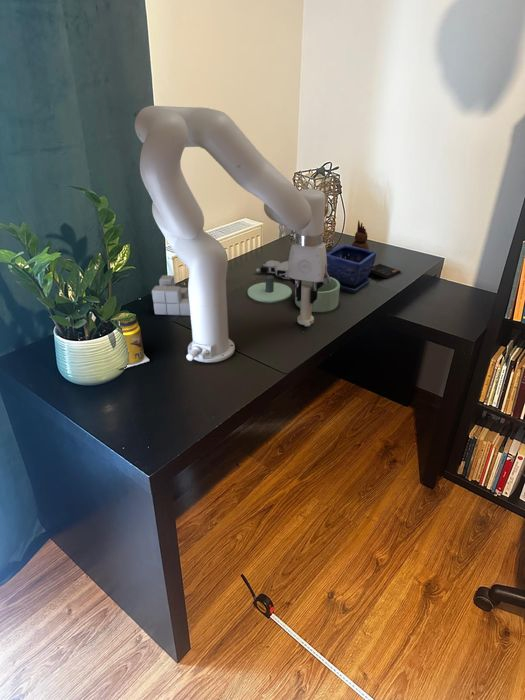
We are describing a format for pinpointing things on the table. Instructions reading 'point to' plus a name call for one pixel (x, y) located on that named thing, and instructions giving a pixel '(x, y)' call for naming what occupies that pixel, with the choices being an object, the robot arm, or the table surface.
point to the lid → (269, 291)
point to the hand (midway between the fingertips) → (306, 300)
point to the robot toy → (274, 268)
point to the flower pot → (350, 266)
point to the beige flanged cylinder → (305, 306)
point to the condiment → (133, 341)
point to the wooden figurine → (360, 238)
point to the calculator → (384, 271)
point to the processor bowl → (324, 296)
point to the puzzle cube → (170, 298)
